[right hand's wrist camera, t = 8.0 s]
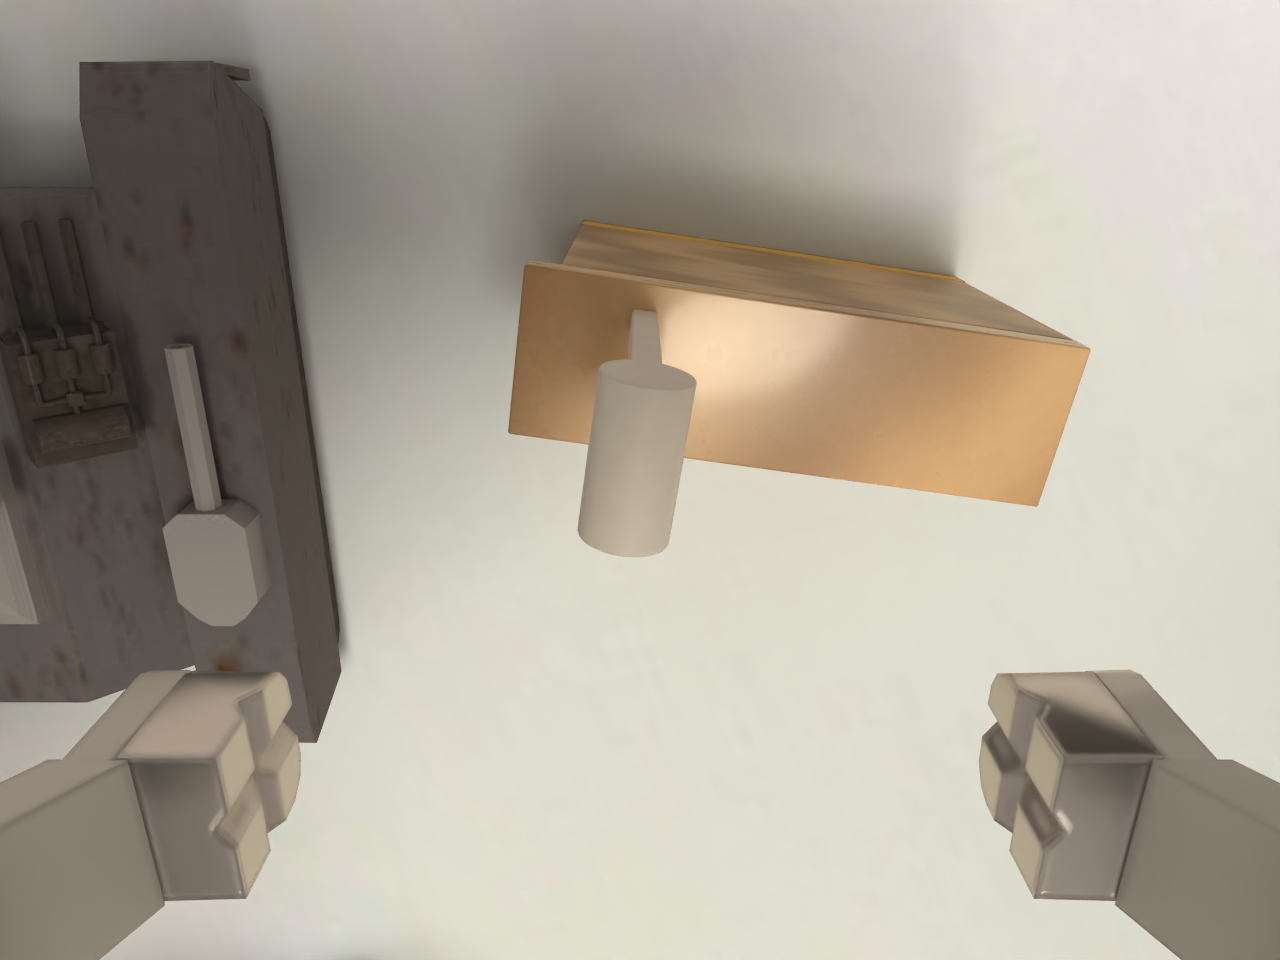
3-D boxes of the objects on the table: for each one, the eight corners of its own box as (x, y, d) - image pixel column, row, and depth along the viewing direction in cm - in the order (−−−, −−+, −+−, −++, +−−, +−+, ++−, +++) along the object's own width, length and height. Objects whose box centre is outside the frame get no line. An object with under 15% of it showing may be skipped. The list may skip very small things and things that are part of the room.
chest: (568, 342, 36) (541, 427, 26) (582, 220, 34) (560, 263, 25) (924, 393, 37) (1025, 494, 27) (956, 276, 35) (1076, 339, 25)
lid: (512, 423, 26) (454, 560, 18) (528, 258, 25) (473, 331, 17) (1025, 494, 27) (1187, 656, 19) (1076, 340, 25) (1279, 447, 17)
